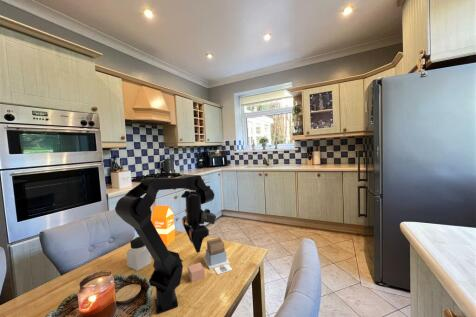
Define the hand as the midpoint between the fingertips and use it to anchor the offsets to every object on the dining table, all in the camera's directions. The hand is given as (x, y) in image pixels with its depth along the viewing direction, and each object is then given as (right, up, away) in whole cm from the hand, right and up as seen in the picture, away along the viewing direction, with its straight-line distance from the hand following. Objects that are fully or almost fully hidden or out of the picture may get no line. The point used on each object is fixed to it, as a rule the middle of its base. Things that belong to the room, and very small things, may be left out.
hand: (195, 247), depth 78 cm
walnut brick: (+7, -6, +11) cm, 14 cm away
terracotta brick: (0, -12, 0) cm, 12 cm away
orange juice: (-24, -12, +33) cm, 42 cm away
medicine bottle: (-27, -13, +11) cm, 31 cm away
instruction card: (+11, -11, +5) cm, 16 cm away
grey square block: (+7, -11, +11) cm, 17 cm away
